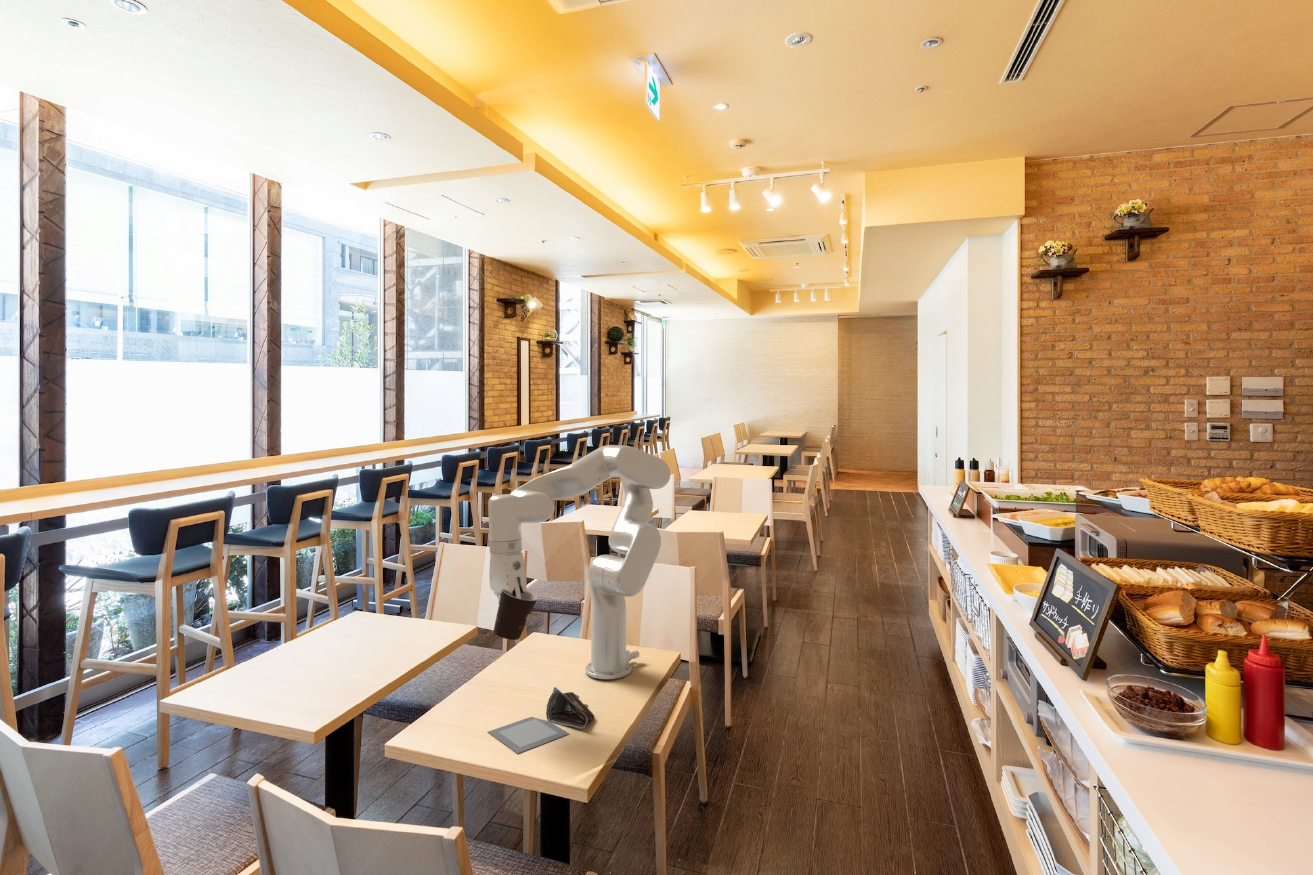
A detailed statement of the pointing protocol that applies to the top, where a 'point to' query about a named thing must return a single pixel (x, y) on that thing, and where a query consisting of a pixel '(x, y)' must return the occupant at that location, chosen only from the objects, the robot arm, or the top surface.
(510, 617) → the coffee mug
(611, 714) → the top surface
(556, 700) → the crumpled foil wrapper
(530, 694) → the top surface
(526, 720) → the mat
